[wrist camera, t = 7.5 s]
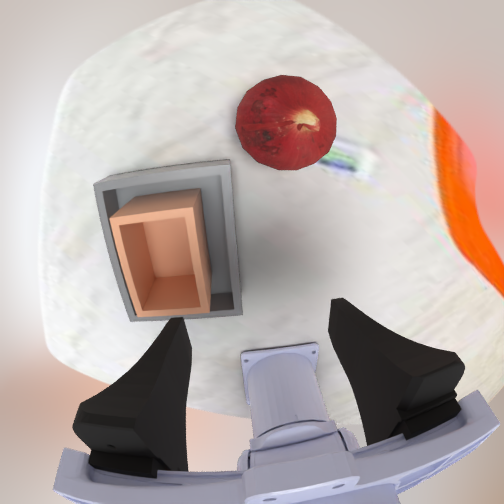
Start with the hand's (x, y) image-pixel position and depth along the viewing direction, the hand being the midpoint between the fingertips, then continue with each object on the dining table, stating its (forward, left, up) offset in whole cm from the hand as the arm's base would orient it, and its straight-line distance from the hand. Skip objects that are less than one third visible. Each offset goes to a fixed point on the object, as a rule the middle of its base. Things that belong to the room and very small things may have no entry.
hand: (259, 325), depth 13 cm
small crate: (+1, +5, -9) cm, 11 cm away
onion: (+9, -3, -10) cm, 14 cm away
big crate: (+1, +5, -10) cm, 11 cm away
